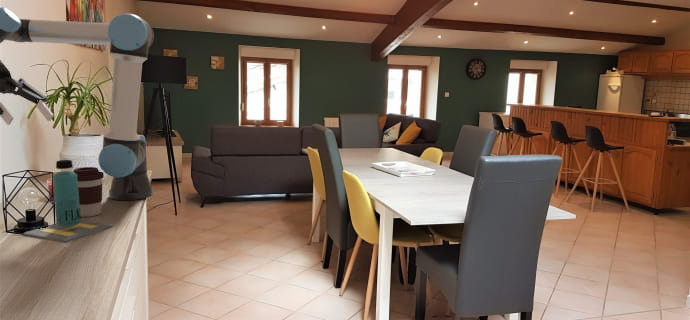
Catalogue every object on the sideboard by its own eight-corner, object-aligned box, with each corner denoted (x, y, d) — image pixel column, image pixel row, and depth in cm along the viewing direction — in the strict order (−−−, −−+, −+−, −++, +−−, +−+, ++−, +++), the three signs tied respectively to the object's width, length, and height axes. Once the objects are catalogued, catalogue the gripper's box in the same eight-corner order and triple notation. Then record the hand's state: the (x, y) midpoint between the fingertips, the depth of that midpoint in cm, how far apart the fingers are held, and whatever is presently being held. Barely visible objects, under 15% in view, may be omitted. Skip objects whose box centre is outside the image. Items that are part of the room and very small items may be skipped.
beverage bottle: (64, 233, 141) (58, 163, 137) (51, 228, 144) (46, 160, 141) (86, 227, 146) (82, 160, 143) (73, 223, 150) (68, 157, 146)
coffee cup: (90, 219, 156) (87, 172, 154) (64, 216, 159) (60, 170, 156) (112, 211, 166) (109, 167, 163) (87, 209, 168) (84, 165, 166)
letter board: (72, 220, 155) (72, 218, 155) (112, 226, 150) (112, 224, 150) (23, 234, 141) (23, 232, 141) (65, 242, 135) (65, 240, 135)
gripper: (22, 78, 169) (60, 124, 167) (-57, 78, 146) (-15, 132, 144) (33, 62, 167) (71, 109, 164) (-46, 59, 143) (-3, 114, 141)
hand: (31, 119), depth 154 cm, fingers open, 13 cm apart
